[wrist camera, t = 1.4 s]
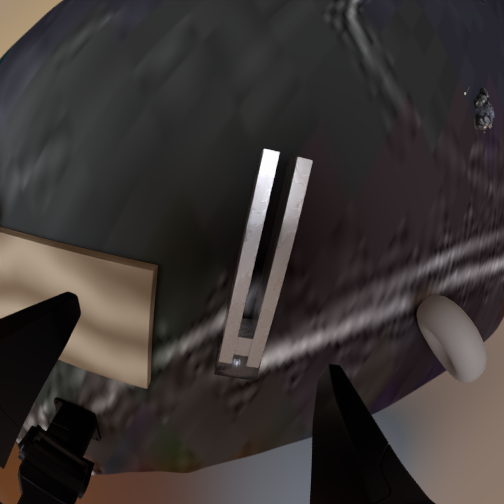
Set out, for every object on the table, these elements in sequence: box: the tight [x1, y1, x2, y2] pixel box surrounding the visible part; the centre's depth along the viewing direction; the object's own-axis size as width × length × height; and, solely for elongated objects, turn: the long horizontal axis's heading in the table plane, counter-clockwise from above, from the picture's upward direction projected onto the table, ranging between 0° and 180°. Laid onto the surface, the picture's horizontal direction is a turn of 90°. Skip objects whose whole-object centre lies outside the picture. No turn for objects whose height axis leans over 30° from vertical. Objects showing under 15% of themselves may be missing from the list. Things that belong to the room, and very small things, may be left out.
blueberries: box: [463, 88, 494, 133], centre depth 19 cm, size 7×8×2 cm
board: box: [0, 227, 158, 389], centre depth 23 cm, size 13×22×2 cm, turn 78°
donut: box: [417, 295, 486, 383], centre depth 21 cm, size 10×3×10 cm, turn 39°
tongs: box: [214, 149, 313, 380], centre depth 22 cm, size 18×3×4 cm, turn 168°
